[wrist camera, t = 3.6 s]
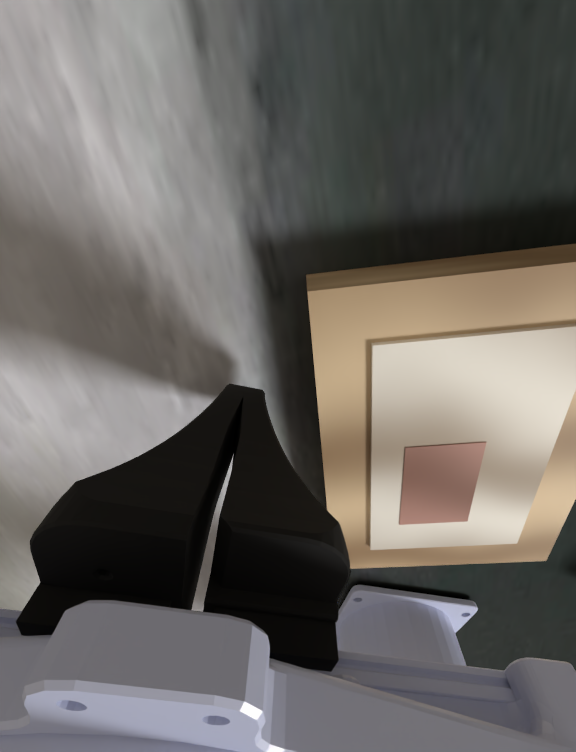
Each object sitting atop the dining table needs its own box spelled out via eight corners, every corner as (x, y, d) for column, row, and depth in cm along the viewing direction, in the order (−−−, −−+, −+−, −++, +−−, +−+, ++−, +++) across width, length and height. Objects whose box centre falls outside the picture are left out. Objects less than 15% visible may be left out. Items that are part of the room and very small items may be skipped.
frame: (517, 516, 18) (549, 565, 16) (328, 526, 19) (333, 574, 16) (617, 235, 11) (703, 251, 8) (305, 270, 12) (307, 294, 9)
